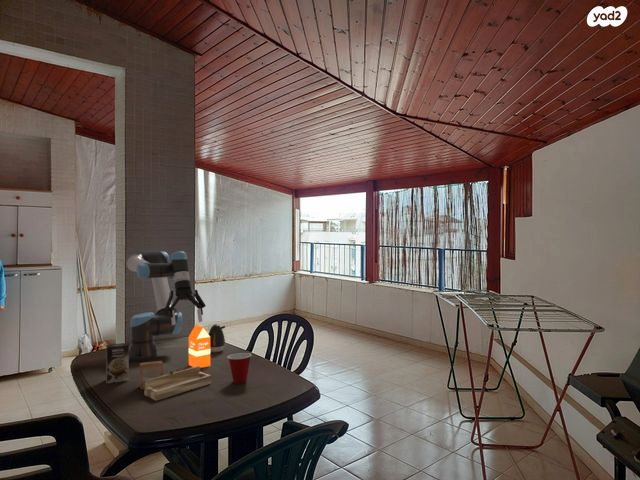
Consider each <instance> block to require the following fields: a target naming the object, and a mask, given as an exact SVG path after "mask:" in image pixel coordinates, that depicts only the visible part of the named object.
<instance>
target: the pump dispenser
mask: <svg viewBox="0 0 640 480" xmlns="http://www.w3.org/2000/svg"><path fill="white" fill-rule="evenodd" d="M225 328H226V325H223V326H220V325H219V324H217V323H216V324H213V325H211V327H210V329H209V331H208V334H209V336H210V353H219V352H222V351H223V350H224V349H225V345H226V338H225V333H224V331H223V329H225Z"/></svg>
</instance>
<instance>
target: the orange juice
mask: <svg viewBox="0 0 640 480" xmlns="http://www.w3.org/2000/svg"><path fill="white" fill-rule="evenodd" d="M188 365H189V366H190V367H191V368H192V367H196V366H200V369H201V368H206V367H211V351H210V336H209V332H208V331H207V330H206V329H205V328H204V326H201V325H199V324H195V325H194V327H193V328H192V330H191V332H190V333H189V335H188Z"/></svg>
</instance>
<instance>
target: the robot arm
mask: <svg viewBox="0 0 640 480" xmlns="http://www.w3.org/2000/svg"><path fill="white" fill-rule="evenodd" d="M170 259H171V260H170ZM125 266H126V268H127V269H128V270H129V271H130V272H132V273H133V272H135V273H136V277H137V278H138V279H144V280H146V279H151V282H152V288H153V294H154V298H155V302H156V304H155V305H156V309H157V310H156V311H155V313H154V312H151V311H148V312H141V313H138V314H135V315H133V316H132V317H131V318H130V325H129V326H130V344H129V362H130V361H131V362H144V361H150V360H154V359H155V358H157V357H158V349H157V347H156V344H155V337H160V336H161V337H162V336H168V335H174V334H175V335H176V334H179V333H180V332H181V330H182V328H183V314H182V312H181V311H178V309H177V307H175V306H177V304H178V302H179V301H183V300H185V301H187V300H188V301H190V303H192V304H193V305H194V306H195V308H196V309H197V310H196V311H197V319H198V320H197V321H198V323H201V322H202V323H203V315H204V311H203V309H204V308H205V307H206V304H205V302H204V300H203V299H202V297H201V296H200V294H199V292H198V289H194V290H192V287H191V281H190V280H191V279H190V271H189V264H188V257H187V253H186V252H185V251H181V250H180V251H175V252H173V253H171V256H169V254H168V253H167V252H166V251H161V250H157V251H137V252H134V253H132V254H129V256H128V257H127V258H126V259H125ZM168 279H170V280H173V281H174V289H175V291H173V290H170V289H171V288H170V285H169V280H168ZM174 296H176V298H175V299H174V301H173V298H174Z"/></svg>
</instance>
